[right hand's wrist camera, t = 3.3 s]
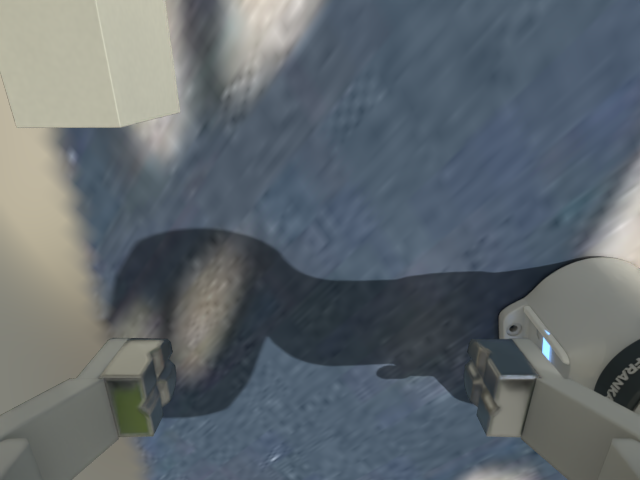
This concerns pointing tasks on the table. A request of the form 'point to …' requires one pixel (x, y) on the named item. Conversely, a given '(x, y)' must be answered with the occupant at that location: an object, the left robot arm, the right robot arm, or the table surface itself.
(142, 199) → the table surface
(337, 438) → the table surface
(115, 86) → the box
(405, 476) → the table surface
